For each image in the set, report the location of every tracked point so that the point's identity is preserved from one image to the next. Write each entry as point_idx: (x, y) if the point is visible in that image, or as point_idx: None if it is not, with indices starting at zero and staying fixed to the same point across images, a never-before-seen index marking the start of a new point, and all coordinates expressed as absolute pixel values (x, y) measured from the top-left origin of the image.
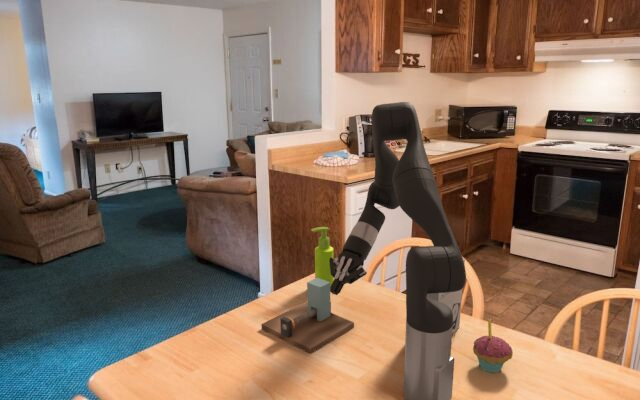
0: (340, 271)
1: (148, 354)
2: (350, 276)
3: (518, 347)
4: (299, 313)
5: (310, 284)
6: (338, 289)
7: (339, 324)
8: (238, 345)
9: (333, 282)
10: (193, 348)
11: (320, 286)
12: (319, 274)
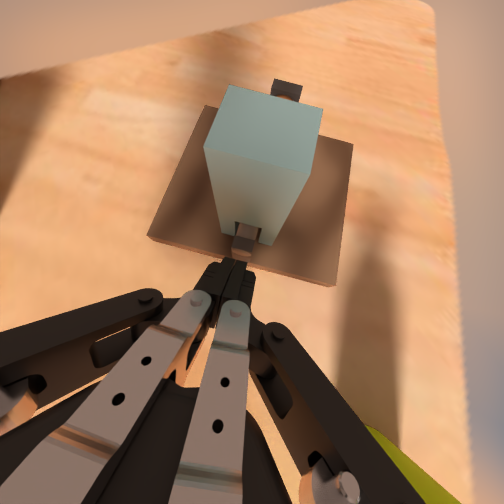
0: (211, 347)
1: (432, 47)
2: (106, 309)
3: None
4: (309, 216)
5: (296, 107)
6: (206, 270)
7: (182, 209)
8: (341, 99)
9: (248, 295)
10: (394, 73)
11: (232, 91)
12: (420, 481)
